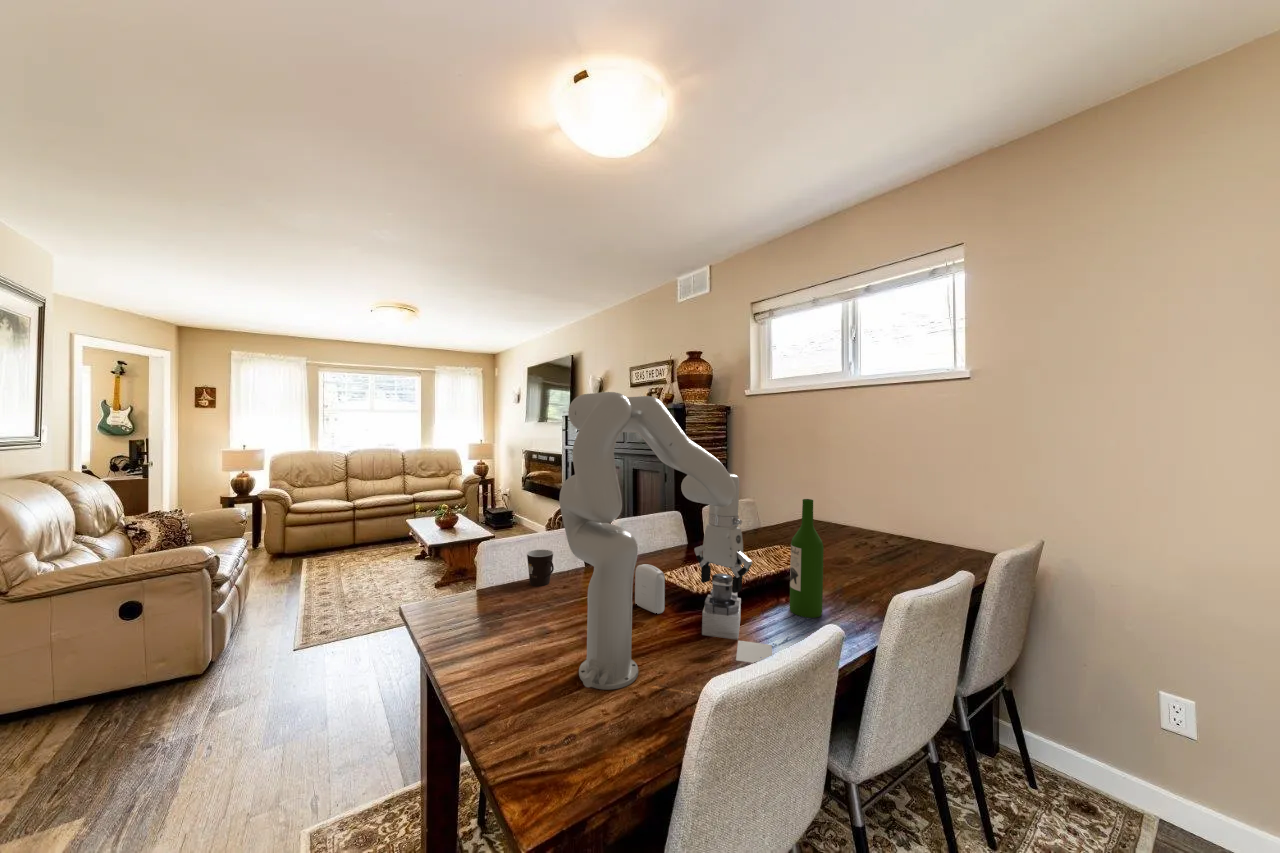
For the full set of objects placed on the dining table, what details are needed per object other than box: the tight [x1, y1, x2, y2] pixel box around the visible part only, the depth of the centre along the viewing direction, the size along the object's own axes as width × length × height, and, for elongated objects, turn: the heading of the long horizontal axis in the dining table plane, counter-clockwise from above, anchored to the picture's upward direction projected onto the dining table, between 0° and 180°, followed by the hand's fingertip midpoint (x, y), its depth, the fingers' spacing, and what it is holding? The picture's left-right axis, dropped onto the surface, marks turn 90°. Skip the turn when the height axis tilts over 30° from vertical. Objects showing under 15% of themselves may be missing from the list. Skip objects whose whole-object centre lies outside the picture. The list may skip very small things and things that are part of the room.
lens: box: [711, 573, 733, 607], centre depth 120 cm, size 5×5×8 cm
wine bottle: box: [789, 498, 825, 619], centre depth 134 cm, size 9×9×32 cm
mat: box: [735, 639, 773, 664], centre depth 108 cm, size 10×8×1 cm
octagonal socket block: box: [701, 589, 742, 641], centre depth 122 cm, size 13×9×8 cm
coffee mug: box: [526, 549, 554, 587], centre depth 152 cm, size 12×9×10 cm
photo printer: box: [634, 563, 666, 615], centre depth 134 cm, size 10×4×12 cm, turn 39°
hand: (720, 586), depth 120 cm, fingers open, 9 cm apart
